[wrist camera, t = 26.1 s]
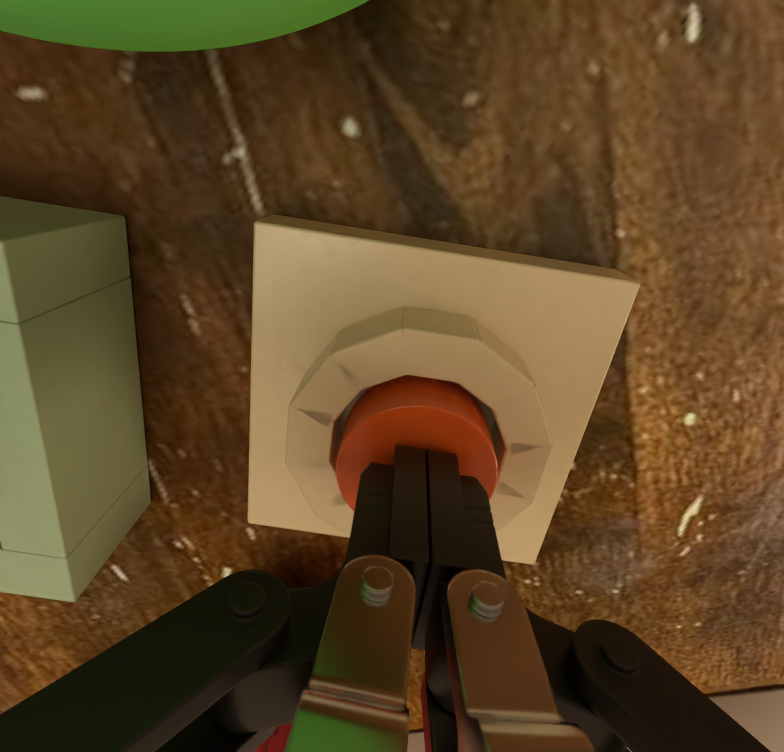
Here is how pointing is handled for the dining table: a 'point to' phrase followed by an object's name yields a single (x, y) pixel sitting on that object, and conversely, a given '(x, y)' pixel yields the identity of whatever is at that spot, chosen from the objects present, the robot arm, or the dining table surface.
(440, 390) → the button
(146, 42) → the toy bird
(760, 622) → the dining table surface
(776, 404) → the dining table surface
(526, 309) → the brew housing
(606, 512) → the dining table surface
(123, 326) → the pod holder
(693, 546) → the dining table surface
